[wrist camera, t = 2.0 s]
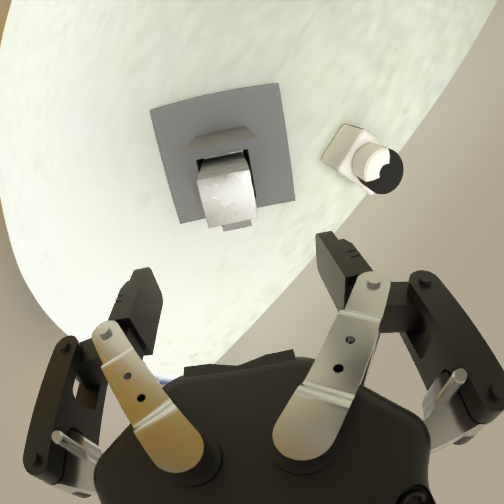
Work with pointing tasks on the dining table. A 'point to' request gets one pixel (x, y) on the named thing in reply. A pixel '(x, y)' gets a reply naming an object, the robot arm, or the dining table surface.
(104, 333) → the robot arm
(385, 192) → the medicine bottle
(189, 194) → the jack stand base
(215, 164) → the steel column
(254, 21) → the dining table surface
